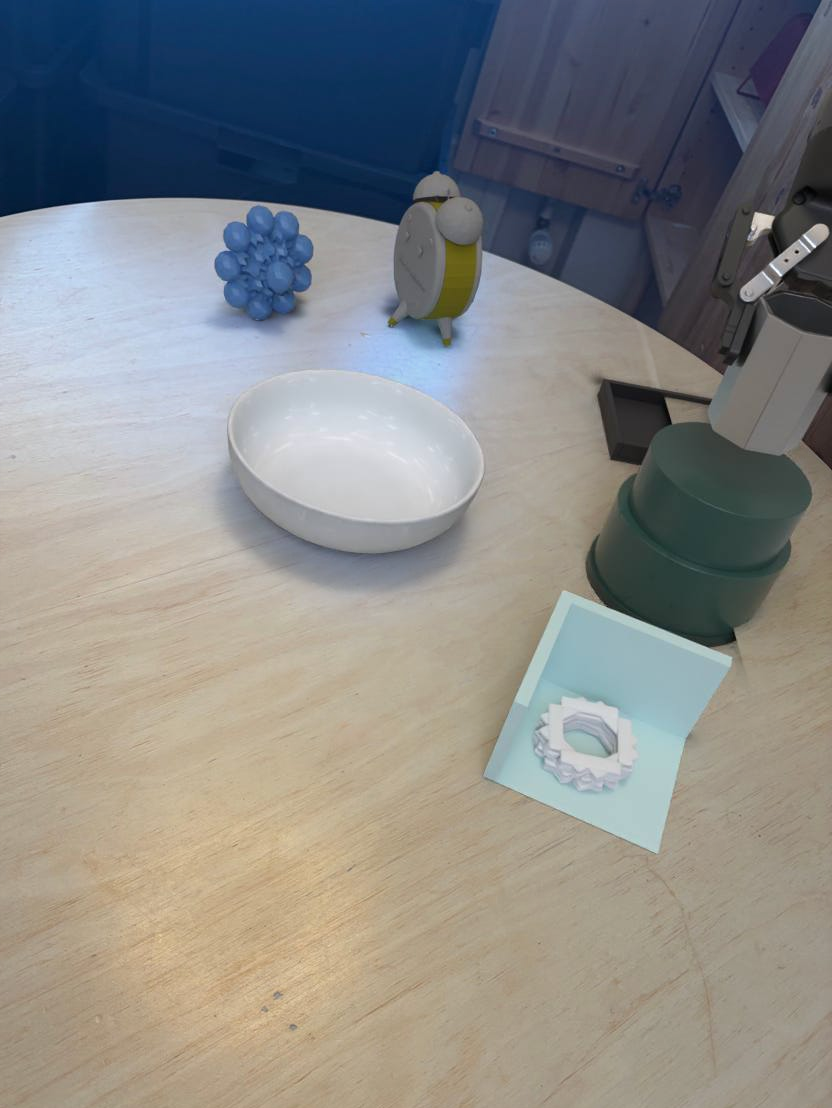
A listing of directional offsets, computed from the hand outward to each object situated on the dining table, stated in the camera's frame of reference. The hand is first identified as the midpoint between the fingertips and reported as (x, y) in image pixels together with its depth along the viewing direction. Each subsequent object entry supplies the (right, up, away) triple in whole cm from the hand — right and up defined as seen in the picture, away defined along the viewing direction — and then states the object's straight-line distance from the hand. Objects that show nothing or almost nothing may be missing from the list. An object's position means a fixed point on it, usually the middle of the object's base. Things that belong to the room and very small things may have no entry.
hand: (782, 377), depth 67 cm
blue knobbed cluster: (-39, +15, +36) cm, 55 cm away
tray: (+2, +3, +33) cm, 33 cm away
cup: (0, -3, +5) cm, 5 cm away
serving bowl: (-30, -7, +16) cm, 35 cm away
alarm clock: (-23, +17, +41) cm, 50 cm away
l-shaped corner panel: (-13, -26, 0) cm, 29 cm away
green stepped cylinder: (-3, -13, +15) cm, 20 cm away
